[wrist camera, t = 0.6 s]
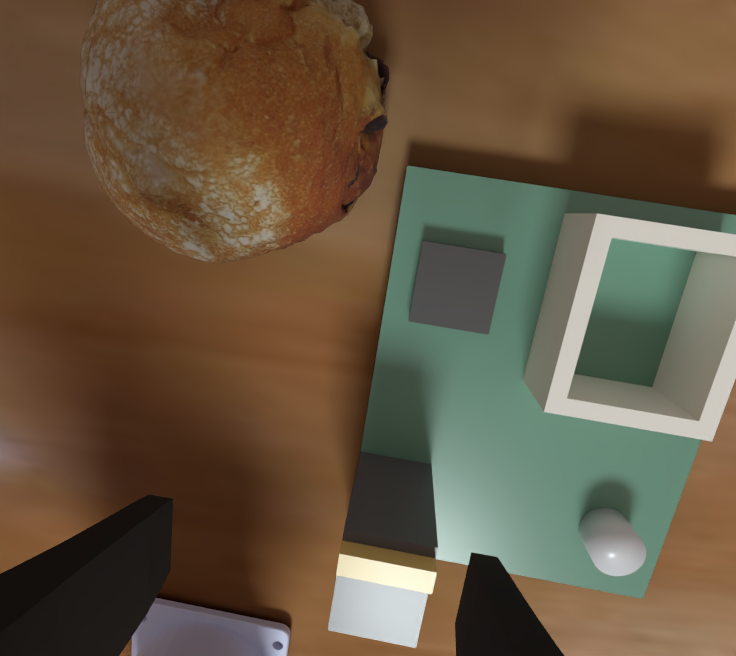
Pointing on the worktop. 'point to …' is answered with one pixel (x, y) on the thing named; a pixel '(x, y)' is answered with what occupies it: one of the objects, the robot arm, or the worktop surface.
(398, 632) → the plug
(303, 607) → the worktop surface
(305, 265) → the worktop surface
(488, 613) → the robot arm
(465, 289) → the board
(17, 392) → the worktop surface
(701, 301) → the white rectangular frame
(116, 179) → the bread roll
